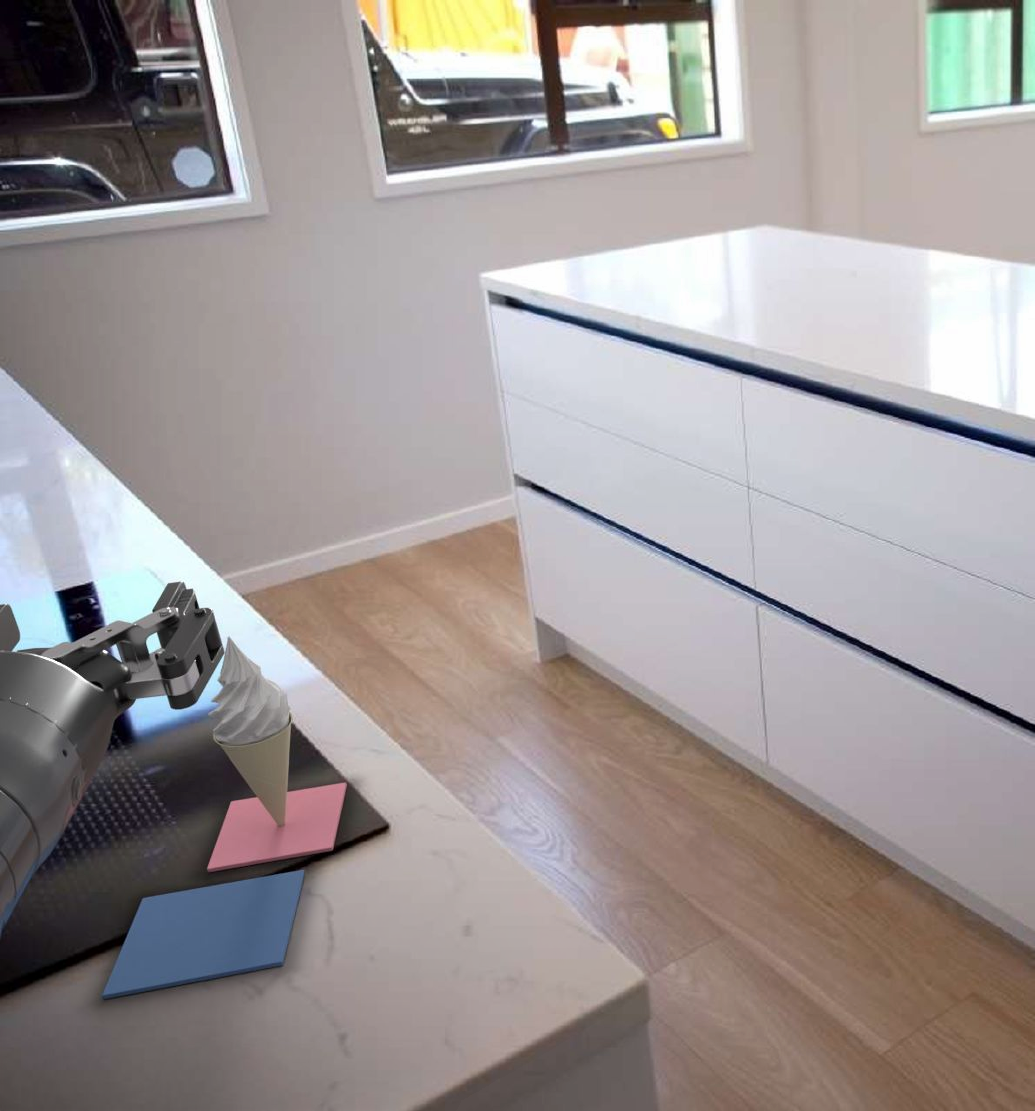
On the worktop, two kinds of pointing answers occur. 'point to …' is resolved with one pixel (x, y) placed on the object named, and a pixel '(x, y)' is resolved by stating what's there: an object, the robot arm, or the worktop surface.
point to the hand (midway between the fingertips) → (95, 608)
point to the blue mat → (207, 934)
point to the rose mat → (279, 828)
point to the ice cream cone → (254, 728)
